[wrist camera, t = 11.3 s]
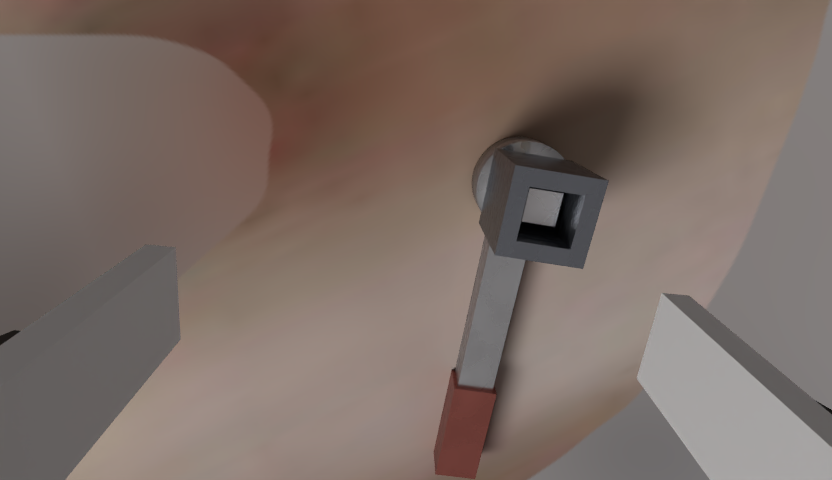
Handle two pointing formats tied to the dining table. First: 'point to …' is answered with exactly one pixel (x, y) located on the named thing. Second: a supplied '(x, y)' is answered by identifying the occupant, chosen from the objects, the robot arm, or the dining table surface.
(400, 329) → the dining table surface
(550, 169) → the socket
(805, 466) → the robot arm
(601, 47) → the dining table surface
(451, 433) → the ratchet
